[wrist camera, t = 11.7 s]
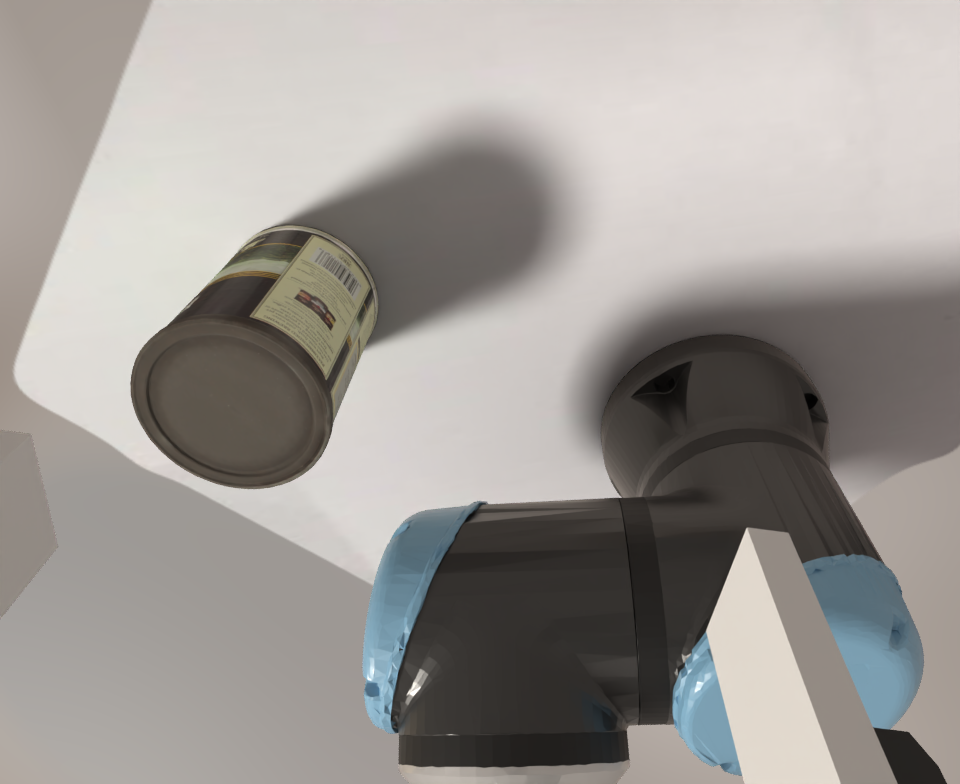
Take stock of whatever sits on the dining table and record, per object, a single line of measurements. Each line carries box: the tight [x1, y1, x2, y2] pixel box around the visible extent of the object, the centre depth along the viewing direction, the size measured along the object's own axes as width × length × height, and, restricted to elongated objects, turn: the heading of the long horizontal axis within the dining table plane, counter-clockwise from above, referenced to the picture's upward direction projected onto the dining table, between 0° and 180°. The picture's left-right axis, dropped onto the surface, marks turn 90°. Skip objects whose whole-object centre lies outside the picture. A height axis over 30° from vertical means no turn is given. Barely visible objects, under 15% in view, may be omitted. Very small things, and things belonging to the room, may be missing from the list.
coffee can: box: [131, 226, 378, 489], centre depth 44 cm, size 10×10×14 cm
